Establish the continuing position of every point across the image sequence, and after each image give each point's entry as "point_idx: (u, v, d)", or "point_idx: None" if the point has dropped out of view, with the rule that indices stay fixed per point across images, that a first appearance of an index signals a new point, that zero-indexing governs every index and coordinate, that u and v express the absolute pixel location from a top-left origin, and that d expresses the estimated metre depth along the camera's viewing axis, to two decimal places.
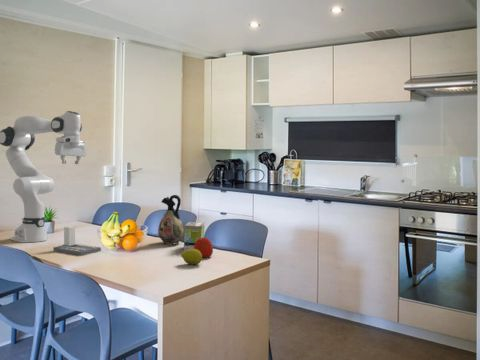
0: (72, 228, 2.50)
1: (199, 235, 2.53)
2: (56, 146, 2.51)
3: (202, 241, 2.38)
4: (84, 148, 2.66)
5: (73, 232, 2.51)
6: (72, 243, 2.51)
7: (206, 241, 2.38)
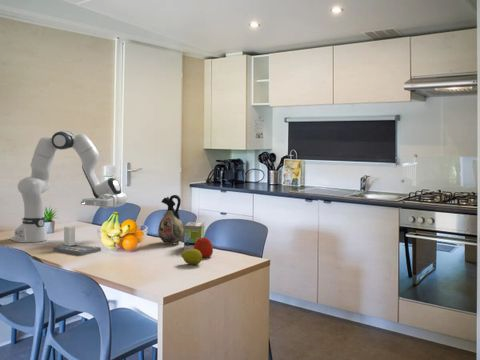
0: (72, 228, 2.50)
1: (199, 235, 2.53)
2: (111, 200, 2.65)
3: (202, 241, 2.38)
4: None
5: (73, 232, 2.51)
6: (72, 243, 2.51)
7: (206, 241, 2.38)
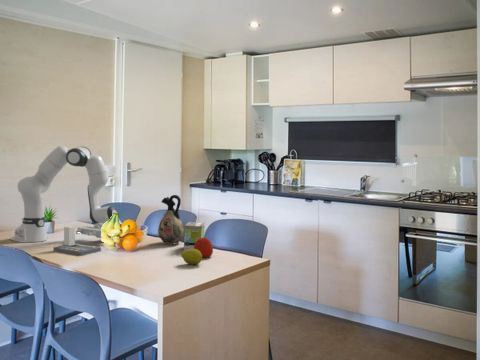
0: (72, 228, 2.50)
1: (199, 235, 2.53)
2: None
3: (202, 241, 2.38)
4: None
5: (73, 232, 2.51)
6: (72, 243, 2.51)
7: (206, 241, 2.38)
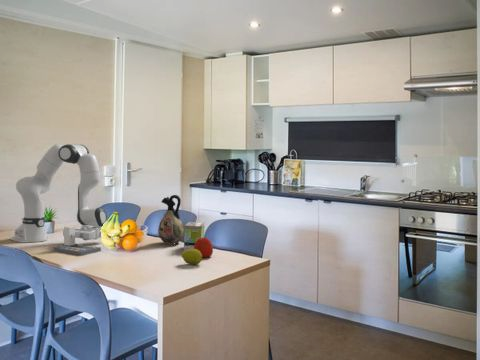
0: (72, 228, 2.50)
1: (199, 235, 2.53)
2: (93, 233, 2.54)
3: (202, 241, 2.38)
4: None
5: (73, 232, 2.51)
6: (72, 243, 2.51)
7: (206, 241, 2.38)
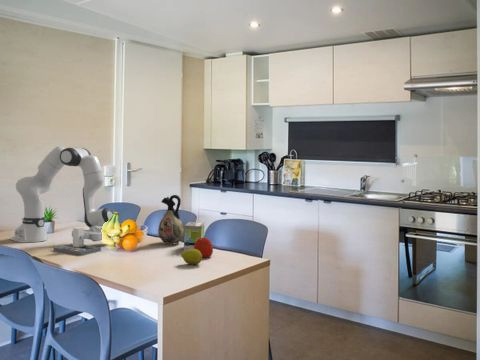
0: (81, 229, 2.47)
1: (199, 235, 2.53)
2: None
3: (202, 241, 2.38)
4: None
5: (82, 233, 2.48)
6: (81, 244, 2.48)
7: (206, 241, 2.38)
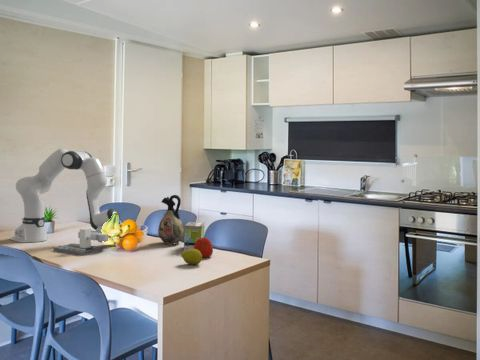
0: (88, 230, 2.45)
1: (199, 235, 2.53)
2: None
3: (202, 241, 2.38)
4: None
5: (89, 234, 2.46)
6: (88, 245, 2.45)
7: (206, 241, 2.38)
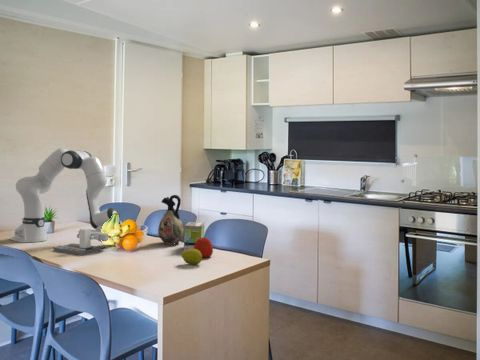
0: (88, 230, 2.45)
1: (199, 235, 2.53)
2: None
3: (202, 241, 2.38)
4: None
5: (89, 234, 2.46)
6: (88, 245, 2.45)
7: (206, 241, 2.38)
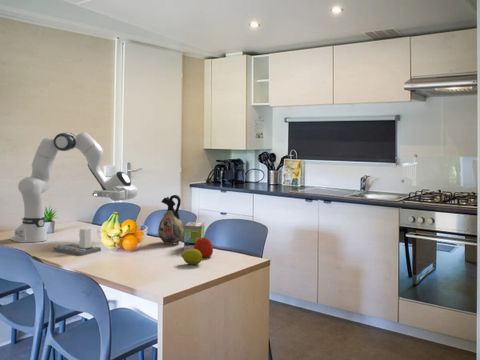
0: (88, 230, 2.45)
1: (199, 235, 2.53)
2: (123, 193, 2.64)
3: (202, 241, 2.38)
4: None
5: (89, 234, 2.46)
6: (88, 245, 2.45)
7: (206, 241, 2.38)
